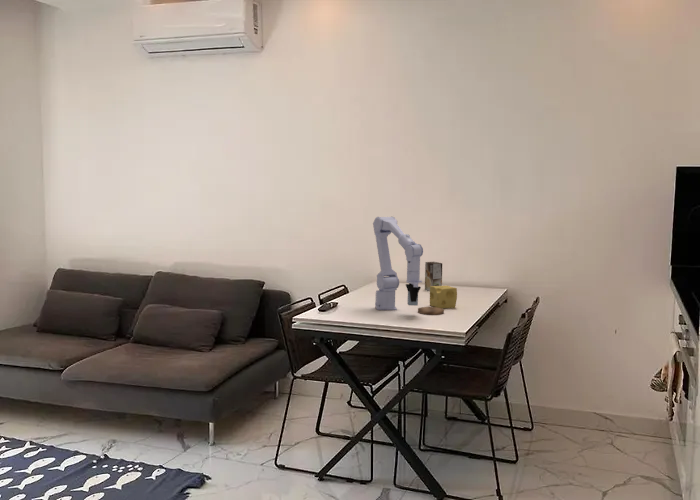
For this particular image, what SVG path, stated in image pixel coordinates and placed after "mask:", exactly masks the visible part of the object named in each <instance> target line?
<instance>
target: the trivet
mask: <svg viewBox="0 0 700 500" xmlns="http://www.w3.org/2000/svg"><path fill="white" fill-rule="evenodd" d="M417 313H418V314H420V315H429V316H437V315H438V316H439V315H444V314H445V308H443V309H442V308H437V307H433V306H424V307H423V306H422V307H418V308H417Z"/></svg>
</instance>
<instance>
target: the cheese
mask: <svg viewBox="0 0 700 500" xmlns="http://www.w3.org/2000/svg"><path fill="white" fill-rule="evenodd" d="M457 299H458V289H457V287H453V286H450V285H442V286H430V291H429V305H430V306H429V307H437V308H442V309H456V305H457Z"/></svg>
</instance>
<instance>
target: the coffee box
mask: <svg viewBox="0 0 700 500" xmlns="http://www.w3.org/2000/svg"><path fill="white" fill-rule="evenodd" d="M424 263H425V264H424V265H425V266H424V291H428V292H430V286H443V262H442V263H441V262H437V261H425V262H424Z"/></svg>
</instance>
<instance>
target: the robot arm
mask: <svg viewBox="0 0 700 500" xmlns="http://www.w3.org/2000/svg"><path fill="white" fill-rule="evenodd" d="M372 225H373V231H374V235H375V236H374V237H375V241H376V249H377V254H378V259H379V260H378V261H379V266H380V271H379V273H377V274H376V287H377V288H378V290H376V291H375V302H374V303H375V304H374V307H375V308H376V310H379V311H383V310H384V311H385V310H386V311H387V310H388V311H391V310H393V311H394V310H395V311H397V309H398V308H397V307H396V291H397V290H398V288H399V286H400V279H399V278H398V274H397V272H396V271H395V270H394V269H393V267H392V262H391V255H390V248H389V243H388V236H390V235H391V233H392V234H393V235H394V236H395V237H396V238H397V239H398V240H397V242H398V244H399V245H400V246H401V248H403V250H404V255H405V260H406V262H407V265H406V266H407V268H406V284H405V287H406V290H407V292H408V291H410V298H411V302H416V300H417V295H418V296H419V292H420V289H421V286H419V284H420V283H423V280H421V279H420V276H421V275H420V274H421V267H420V266H421V257H422V256H423V253H424V248H423V246H422V244H420V243H416V242H415V240H414V239H412V237H411V236H410V234H408V233H404V231H403V230H402V229H401V227H400V226H399V224H398V220H397V219H396V217H394V216H376V217H375V218H374V221H373V223H372Z"/></svg>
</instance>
